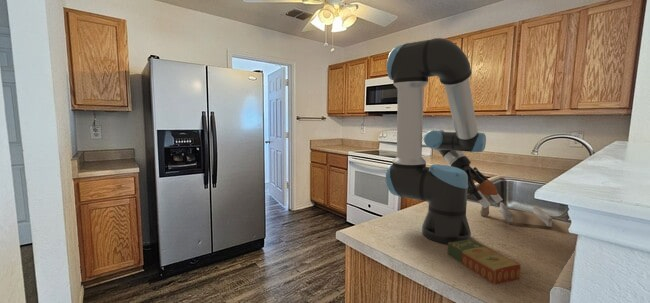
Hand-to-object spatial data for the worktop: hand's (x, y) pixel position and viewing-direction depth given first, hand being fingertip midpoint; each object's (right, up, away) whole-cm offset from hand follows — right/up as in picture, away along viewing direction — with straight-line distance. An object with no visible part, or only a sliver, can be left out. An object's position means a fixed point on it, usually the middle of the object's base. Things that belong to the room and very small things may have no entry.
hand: (493, 204), depth 112 cm
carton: (-25, -10, -36) cm, 45 cm away
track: (+10, -6, -2) cm, 12 cm away
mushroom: (-2, -6, +3) cm, 6 cm away
